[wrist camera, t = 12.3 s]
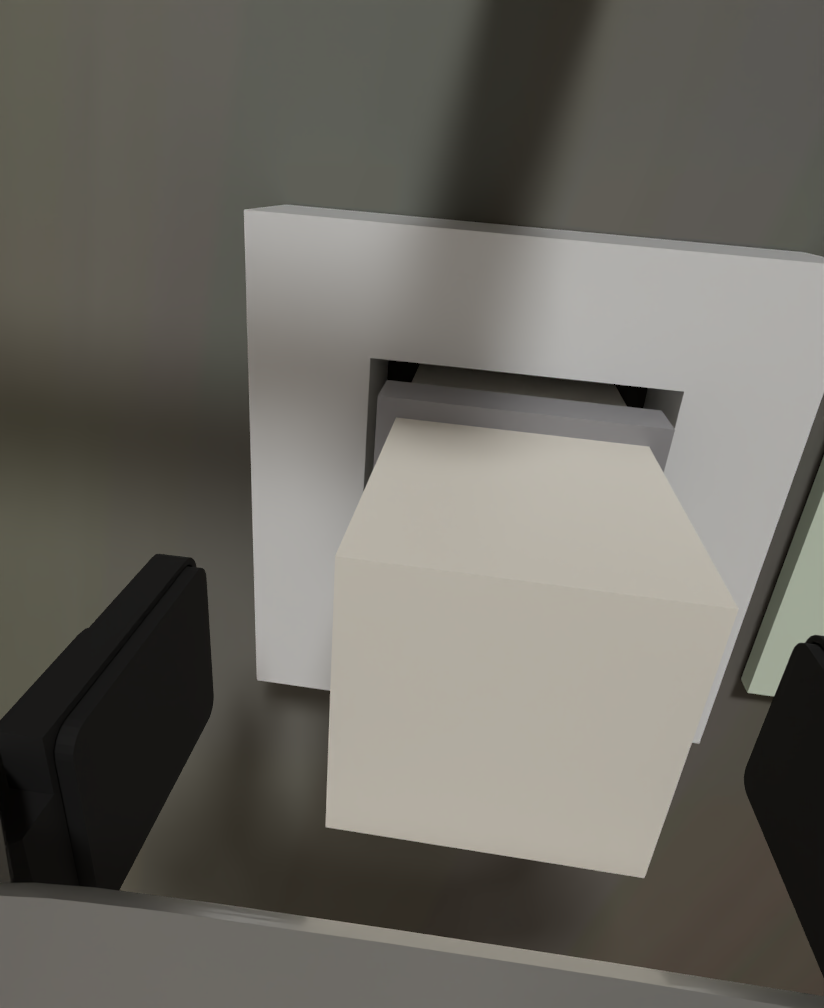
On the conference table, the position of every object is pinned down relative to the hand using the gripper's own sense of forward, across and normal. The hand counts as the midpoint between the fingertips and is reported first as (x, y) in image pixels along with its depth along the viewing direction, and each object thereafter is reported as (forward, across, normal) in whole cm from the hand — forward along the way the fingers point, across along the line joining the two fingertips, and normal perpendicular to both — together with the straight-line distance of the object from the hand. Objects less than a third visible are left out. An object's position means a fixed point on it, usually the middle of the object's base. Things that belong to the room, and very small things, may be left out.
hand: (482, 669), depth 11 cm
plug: (+8, 0, 0) cm, 9 cm away
